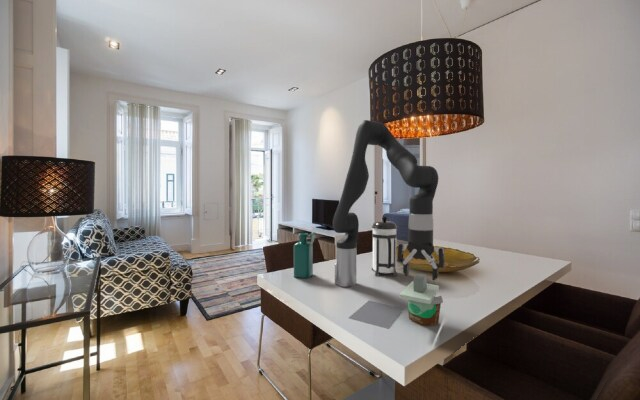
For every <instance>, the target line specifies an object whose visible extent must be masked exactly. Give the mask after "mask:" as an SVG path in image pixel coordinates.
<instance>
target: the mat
mask: <svg viewBox="0 0 640 400" xmlns="http://www.w3.org/2000/svg"><path fill="white" fill-rule="evenodd" d="M405 309H406V308H405V307H403V306H402V307H401V306H398V305H392V304H388V303H383V302H378V301H374V300H370V299H369V300H368V301H367V302H365V303H364V304H362V306H360V307H359V308H358V309H357V310H356V311H355V312H353V313H352V314H351V315H350V316H348V319H350V320H354V321H357V322H362V323H364V324H369V325H373V326H377V327H380V328H384V329H389V330H390V328H391V327H392V326H393V324H394V323H395V321H397V319H398V318H399V317H400V316H401V314H402V313H403V311H405Z"/></svg>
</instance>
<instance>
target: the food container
mask: <svg viewBox="0 0 640 400" xmlns="http://www.w3.org/2000/svg"><path fill="white" fill-rule="evenodd" d="M406 300H407V299H406ZM443 303H444V299H443V297H442V295H439V296H435V297H434V299H433V300H432V302H431V303H430V304H426V303H422V302H417V301H412V300H407V309H408V310H407V311H408V318H409V320H410V321H411V322H412V323H414V324H416V325H420V326H425V327H426V326H427V327H430V326H431V327H432V326H433V327H434V326H436V325H438V324H439V321H440V313H441V312H440V311H441V305H442V304H443Z"/></svg>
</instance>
